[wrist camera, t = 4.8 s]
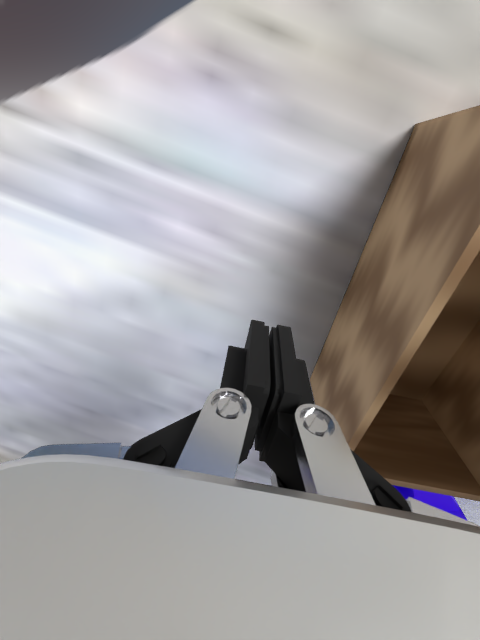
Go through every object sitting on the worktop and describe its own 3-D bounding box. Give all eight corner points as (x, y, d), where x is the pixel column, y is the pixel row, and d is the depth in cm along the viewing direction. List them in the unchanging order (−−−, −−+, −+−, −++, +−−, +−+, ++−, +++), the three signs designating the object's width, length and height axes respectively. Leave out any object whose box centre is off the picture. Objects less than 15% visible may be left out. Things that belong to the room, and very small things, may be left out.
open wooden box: (415, 124, 17) (566, 80, 9) (592, 163, 18) (908, 158, 9) (309, 379, 28) (330, 473, 20) (421, 401, 29) (490, 503, 20)
